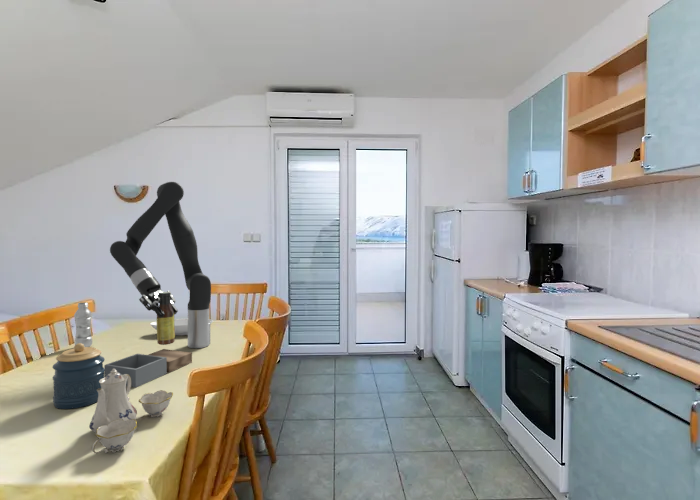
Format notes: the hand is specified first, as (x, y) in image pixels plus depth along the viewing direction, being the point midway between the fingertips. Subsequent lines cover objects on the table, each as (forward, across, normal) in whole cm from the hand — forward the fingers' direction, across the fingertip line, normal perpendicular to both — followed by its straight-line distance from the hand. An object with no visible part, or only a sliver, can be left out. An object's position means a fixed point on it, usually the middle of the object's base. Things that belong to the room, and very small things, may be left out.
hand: (169, 314), depth 148 cm
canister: (+13, -34, +16) cm, 40 cm away
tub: (+13, -14, +15) cm, 24 cm away
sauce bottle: (+7, 0, +9) cm, 12 cm away
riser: (+13, 0, +15) cm, 20 cm away
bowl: (-6, +41, +35) cm, 55 cm away
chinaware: (+32, -43, -4) cm, 54 cm away
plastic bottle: (-22, +6, +52) cm, 57 cm away
